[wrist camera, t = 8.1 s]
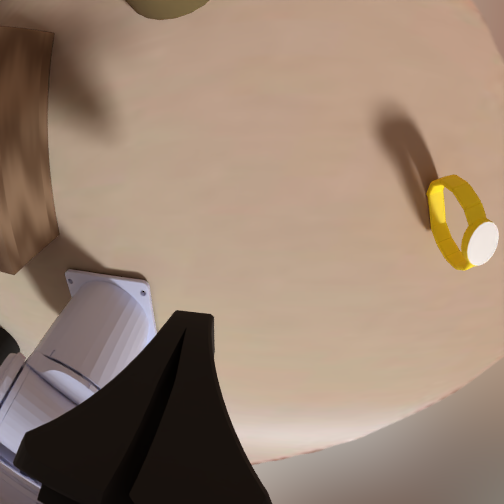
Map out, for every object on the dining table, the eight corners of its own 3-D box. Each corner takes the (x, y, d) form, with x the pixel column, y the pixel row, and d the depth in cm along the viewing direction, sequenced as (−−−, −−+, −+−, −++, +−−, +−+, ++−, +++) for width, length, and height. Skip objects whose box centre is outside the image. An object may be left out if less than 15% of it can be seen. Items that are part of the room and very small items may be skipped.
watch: (412, 174, 16) (463, 197, 11) (443, 165, 16) (497, 184, 10) (425, 251, 18) (466, 293, 13) (452, 239, 18) (496, 277, 12)
